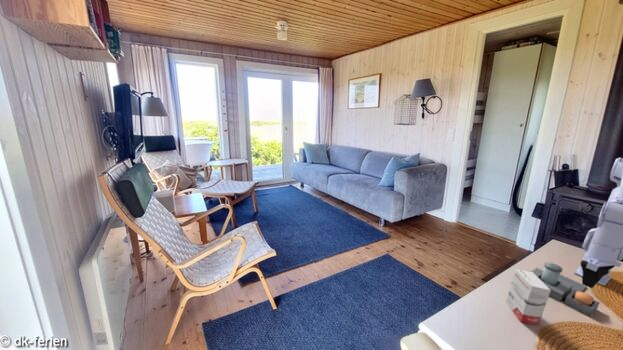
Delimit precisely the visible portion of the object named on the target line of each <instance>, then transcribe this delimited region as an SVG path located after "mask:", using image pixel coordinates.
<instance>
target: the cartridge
mask: <svg viewBox="0 0 623 350" xmlns="http://www.w3.org/2000/svg"><path fill="white" fill-rule="evenodd" d="M562 272H563V268H562V266H560V265H558V264H556V263H553V262H545V263H544V268H543V273H542V276H541V279H540V280H541V281H543V282H545V283H547V284H549V285H552V286H554V287H555V286H556V283H557V281H558V278H559V275H561V273H562Z"/></svg>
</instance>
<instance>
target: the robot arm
mask: <svg viewBox="0 0 623 350" xmlns="http://www.w3.org/2000/svg"><path fill="white" fill-rule="evenodd" d="M609 174H610V175H609V178H610V181H612V182H614V183H616V187H615V188H613V189H612V190H611V193H610V195H609V197H608V200H607V202H604V203H603V205H602V208H601V210H600V213H599V215H598V221H597V224H596V226H597V227H596V228H591V229H590V230H588V232H587V234H586V236H585V238H584V239H583V240H584V241H583V243H582V245H581V247H582V249H583V250H585V251H584V252H585V253H584V255H583V258H582V260H580V266H579V267H578V268H577V269H576V270H574V271H573V273H574V274H576V275H578V276H580V277H582V278H581V280H582V281H581V284H583V285H585V286H587V287H588V288H590V289H593V288H594V287H595V286H596V285H597V284H599V285H601V286H603V285H604V286H606V285H607V283H608V282H609V281H610V280H611V279H612V276H610V273H611V271H612V269H614V268H615V267H618V268H620V267H622V262H620V261H622V260H623V158H622V157H618V158H615V161H614V163H613V165H612V167H611V170H610V173H609ZM604 286H603V287H604Z"/></svg>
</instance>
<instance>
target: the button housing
mask: <svg viewBox="0 0 623 350" xmlns="http://www.w3.org/2000/svg"><path fill="white" fill-rule="evenodd" d="M575 294H576V291H574V290H573V291H572V290H571V291H570V292H569V293H568V294H567V295H566V296H565V297H566V298H565V300H564V305H567V306H569V307H571V308H572V309H574V310H576V311H578V312H581V313H583V314H584V315H586V316H588V317H590V318H591V317H592V316H593V315H594V313H595V312H596V311H597V309H598V308H599V306H600V302H599V301H597V300H595V299H594V300H593V302H592V304H591V307H589V306H587V305H585V304H583V303H581V302H579V301H577V300H575V299H574V296H575Z"/></svg>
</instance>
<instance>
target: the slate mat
mask: <svg viewBox="0 0 623 350" xmlns="http://www.w3.org/2000/svg"><path fill="white" fill-rule="evenodd" d="M559 278H560V279H562V280H565V281H567V282H569V283H571V284H573V287H572V289H571V292H572V291H573V290H574V291H576V292H577V291H581V292H583V291H585V289H586V288H587V287H588V286H585V285H583V284H582V283H580V282H578V281H576V280H574V279H572V278H569V277H566V276H565V275H563V274H560V275H559Z"/></svg>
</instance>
